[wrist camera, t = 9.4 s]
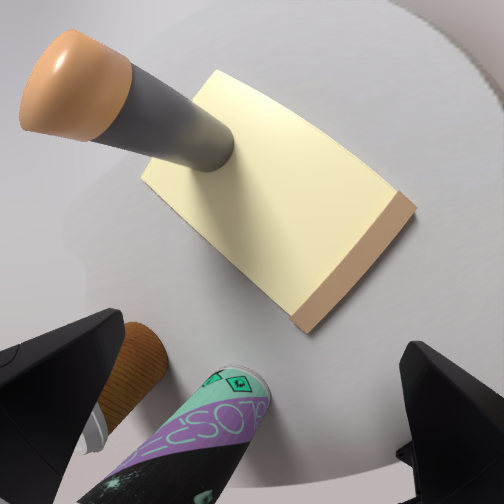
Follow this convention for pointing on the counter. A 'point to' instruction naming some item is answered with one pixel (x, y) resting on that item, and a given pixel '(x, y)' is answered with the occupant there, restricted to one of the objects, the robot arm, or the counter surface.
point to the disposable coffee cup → (124, 385)
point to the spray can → (192, 446)
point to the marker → (118, 106)
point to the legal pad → (284, 202)
